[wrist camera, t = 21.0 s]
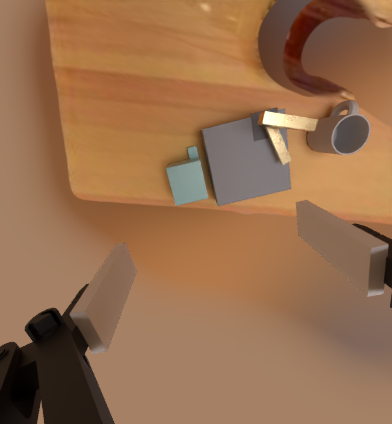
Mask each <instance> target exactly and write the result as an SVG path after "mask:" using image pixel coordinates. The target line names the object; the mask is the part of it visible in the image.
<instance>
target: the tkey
mask: <svg viewBox="0 0 392 424" xmlns="http://www.w3.org/2000/svg"><path fill="white" fill-rule="evenodd" d="M317 121H318V119H312V118H305V117H299V116H292V115H286V114H280V113H273V112H267V111H265V112H262V113H260V115H259V119H258V124H259V125H261V127H262V129H263V130H266V132H267V134H268V137H269V139H270V141H271V143H272V146H273V148H274V150H275V153H276V155H277V157H278V159H279V162H280V164H281V165H284V164H286V163H288V162H289V161H291V158H290V155H289V153H288V150H287V148H286V146H285V143H284V141H283V139H282V136H281V134H280V131H279V129H283V128H286V129H293V130H299V131H315V128H316V125H317Z"/></svg>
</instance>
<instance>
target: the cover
mask: <svg viewBox="0 0 392 424" xmlns="http://www.w3.org/2000/svg"><path fill="white" fill-rule="evenodd" d="M187 149H188V153H189V157H190V159H187V160H183V161H179V162H175V163H170V164H168V166H167V167H166V171H167V175H168V178H169V182H170V186H171V189H172V193H173V197H174V200H175V204H176V206H177V205H181V204H186V203H190V202H194V201H199V200H203V199H208V195H207V190H206V185H205V180H204V176H203V171H202V166H201V162H200V159H199V156H198V152H197V147H196V146H193V147H189V148H187Z"/></svg>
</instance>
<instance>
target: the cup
mask: <svg viewBox="0 0 392 424" xmlns="http://www.w3.org/2000/svg"><path fill="white" fill-rule="evenodd" d="M345 109H347V110H348V113H347V115H340V116H339V114H340V113H341V112H342V111H343V110H345ZM358 111H359V106H358V104H357V103H356V102H355V101H353V100H348V101H344V102H341V103H339V104H338V105H337V106H336V107H335V108H334V109H333V110H332V112H331V114H330V117H327V118H322V119H319V120H318V121H317V125H316V128H315V131H308V134H307V142H308V145H309V147H310V148H311V149H312V150H314V151H317V152H324V153H332V154H340V155H350V154H354V153H355V152H357V151H359V150H360V149H361V148H362V147H363V146H364V145H365V144H366V142H367V140H368V139H369V135H370V128H371V127H370V123H369V121H368V119H367V118H366V117H365V116H363V115H361V114H358Z"/></svg>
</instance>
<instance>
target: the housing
mask: <svg viewBox="0 0 392 424" xmlns="http://www.w3.org/2000/svg"><path fill="white" fill-rule="evenodd" d="M266 111H267V112H273V113H280V114H285V109H281V110H277V108H273V109H269V110H266ZM262 112H265V111H262ZM262 112H258V113H254V114H251V117H249V118H245V119H242V120H238V121H234V122H230V123H226V124H222V125H218V126H214V127H210V128H206V129H202V130H201V135H202V140H203V144H204V149H205V154H206V158H207V163H208V168H209V173H210V177H211V182H212V187H213V192H214V196H215V200H216V202H217V204H218V206H221V205H225V204H229V203H234V202H238V201H242V200H246V199H251V198H255V197H259V196H263V195H268V194H272V193H276V192H280V191H285V190H289V189H291V182H290V169H289V162H288V163H286V164H284V165H281V164H280V162H279V159H278V157H277V155H276V153H275V150H274V148H273V146H272V143H271V141H270V139H269V137H268V134H267V132H266V130H263V129H262V127H261V125H259V124H258V119H259V115H260V113H262ZM279 131H280V134H281V136H282V139H283V141H284V143H285V146H286V148H287V150H288V142H287V129H286V128H283V129H279Z"/></svg>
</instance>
